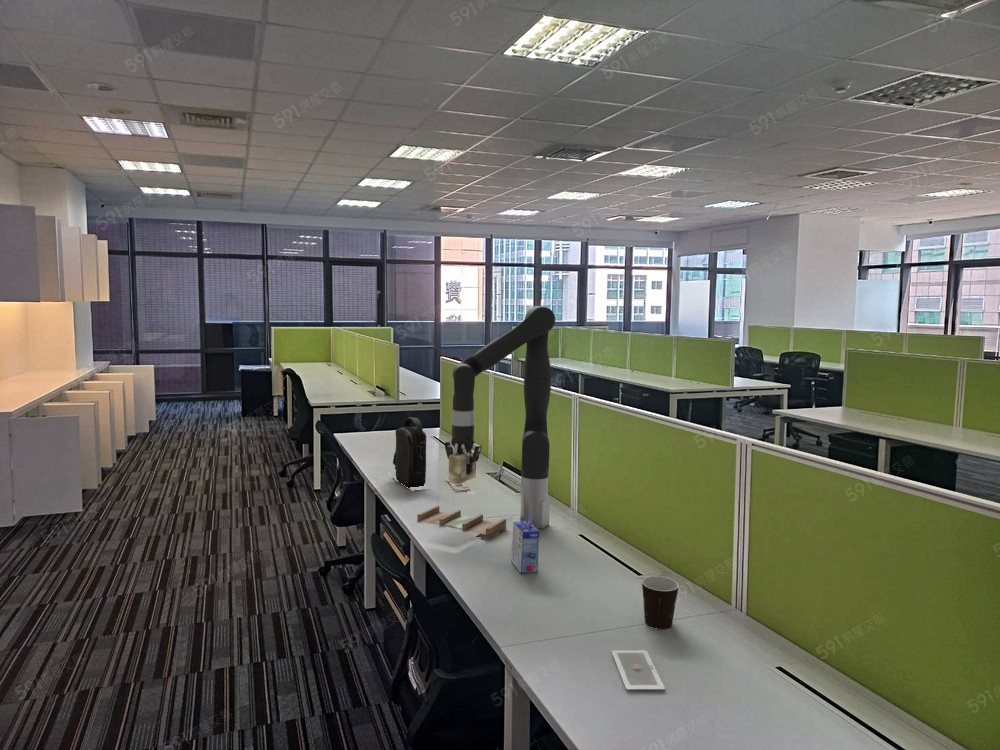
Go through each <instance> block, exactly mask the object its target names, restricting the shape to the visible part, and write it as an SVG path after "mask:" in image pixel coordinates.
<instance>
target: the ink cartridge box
mask: <svg viewBox="0 0 1000 750" xmlns="http://www.w3.org/2000/svg"><path fill="white" fill-rule="evenodd" d="M528 520H530V522H529V521H528ZM532 522H533V519H532V518H531V517H530V516H529V517H528V519H527V520H526V521H521V522H520V521H513V523H512V542H511V557H510V558H511V562H512V563H513V565H514V566H515V568H516V569H517V570H518V571H519V573H520V574H524V573H525V574H528V573H529V574H531V573H538V570H539V569H538V568H539V566H538V565H539V551H540V550H539V549H540V548H539V546H540V545H539V544H540V530H539V529H536V528H535V527H534V526H533V525H532Z"/></svg>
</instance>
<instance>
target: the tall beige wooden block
mask: <svg viewBox="0 0 1000 750" xmlns="http://www.w3.org/2000/svg"><path fill="white" fill-rule="evenodd" d="M473 453H474V450H472V454H473ZM472 456H473V455H472ZM466 464H467V462H466V457H465V455H464V454H463V453H457V454H453V455H450V456H449V459H448V479H449V483H455V484H461V483H463V482H464V483H465V482H467V481H470V480H472V479H474V478H476V477H477V462H474V463H473V471H472V473H471V474H469V475H467V474H466ZM449 483H448V484H449Z"/></svg>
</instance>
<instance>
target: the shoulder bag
mask: <svg viewBox="0 0 1000 750" xmlns="http://www.w3.org/2000/svg"><path fill="white" fill-rule="evenodd" d="M412 422H413V424H414V426H411V423H412ZM392 464H393V465H394V470H395V477H396V479H397V480H398V481H399V482H400V483H402V484H403V485H405V486H406V487H408V488H410V487H419V486H424V484H426V473H427V434H426V432H425V431H424V430H423V425H422V422H421V421H420V419H419V418H418V417H411V416H410V417H407V418H406V419H405V420H404V423H403V426H402V427H399V428H396V429H395V452H394V454H393V460H392ZM400 483H399V484H400ZM403 485H402V486H403ZM406 487H405V488H406Z"/></svg>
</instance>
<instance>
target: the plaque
mask: <svg viewBox="0 0 1000 750" xmlns="http://www.w3.org/2000/svg"><path fill="white" fill-rule="evenodd" d="M445 482H446V483H447V482H449V478H446V479H445ZM449 484H450V485H449ZM448 485H449V486H450V487H451V488H452V487H453V488H452V490H453V491H454V492H455V493H460V492H459V491H461V492H464V491H467V493H468V494H467V495H476V492H475V491H474V490H471V488H470V487H469V486H468V485H467V484H466V483H465V482H463V483H461V484H455V483H448Z"/></svg>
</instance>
